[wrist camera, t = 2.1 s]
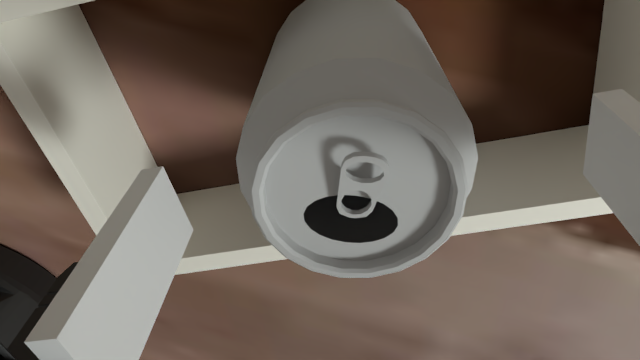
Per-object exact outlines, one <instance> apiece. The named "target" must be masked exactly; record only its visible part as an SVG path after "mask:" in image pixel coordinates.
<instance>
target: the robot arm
mask: <svg viewBox="0 0 640 360" xmlns="http://www.w3.org/2000/svg"><path fill="white" fill-rule="evenodd" d="M583 175H584V176H585V177H586V179H587V180H588V181H589V182H590V184H591V185H592V186H593V188H594V189H595V190H596V191H597V193H598V194H599V195H600V196H601V198H602V199H603V200H604V201H605V203H606V204H607V205H608V207H609V208H610V209H611V210H612V212H613V213H614V214H615V215H616V217H617V218H618V219H619V220H620V222H621V223H622V224H623V226H624V227H625V228H626V229H627V231H628V232H629V233H630V234H631V236H632V237H633V238H634V239H635V241H636V242H637V243H638V245H639V246H640V102H638V101H637V100H636V99H635V98H633V97H632V96H631V95H629V94H628V93H627V92H626V91H624V90H623V89H618V90H612V91H606V92H600V93H594V94H593V96H592V104H591V112H590V120H589V128H588V136H587V144H586V153H585V161H584V169H583ZM192 232H193V228H192V226H191V224H190V221H189V219H188V217H187V215H186V213H185V211H184V209H183V207H182V205H181V203H180V201H179V198H178V196H177V194H176V192H175V190H174V188H173V186H172V184H171V182H170V180H169V178H168V176H167V173H166V171H165V169H164V167H163V166H161V167H155V168H149V169H143V170H141V171H140V173H139V174H138V176H137V177H136V179H135V180H134V182H133V183H132V184H131V186H130V187H129V189H128V190H127V192H126V193H125V195H124V196H123V198H122V199H121V201H120V202H119V204H118V205H117V206H116V208H115V209H114V211H113V212H112V214H111V215H110V217H109V218H108V220H107V221H106V223H105V224H104V226H103V227H102V228H101V230H100V231H99V233H98V234H97V236H96V237H95V239H94V240H93V242H92V243H91V245H90V246H89V248H88V249H87V250H86V252H85V253H84V255H83V256H82V258H81V259H80V261H79V262H75V263H73V264H72V265H71V266H70V267H69V268H67V269H66V270H65V271H64V272H63V273H62V274H61V275H60V276H59V277H58V278H57V279H56V278H55V277H54V276H53V275H51V274H50V273H49V272H47V271H46V270H45V269H43V268H42V267H40V266H39V265H37V264H36V263H34V262H33V261H31V260H29V259H27V258H26V257H24V256H22V255H20V254H18V253H16V252H14V251H12V250H10V249H7V248H5V247H3V246H0V360H139V358H140V356H141V353H142V351H143V348H144V346H145V344H146V341H147V339H148V337H149V334H150V332H151V330H152V327H153V325H154V322H155V320H156V318H157V315H158V313H159V311H160V308H161V306H162V303H163V301H164V299H165V296H166V294H167V292H168V289H169V287H170V285H171V282H172V280H173V277H174V275H175V273H176V270H177V268H178V266H179V263H180V261H181V258H182V256H183V254H184V251H185V249H186V247H187V244H188V242H189V239H190V237H191V235H192Z"/></svg>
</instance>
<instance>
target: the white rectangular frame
mask: <svg viewBox="0 0 640 360" xmlns="http://www.w3.org/2000/svg"><path fill="white" fill-rule="evenodd" d="M90 1H94V0H0V85H1V87H2V88H3V90H4V91H5V93H6V94H7V96H8V98H9V99H10V101H11V102H12V104H13V105H14V107H15V109H16V110H17V112H18V113H19V115H20V116H21V118H22V120H23V121H24V123H25V124H26V126H27V127H28V129H29V131H30V132H31V134H32V135H33V137H34V138H35V140H36V141H37V143H38V145H39V146H40V148H41V149H42V151H43V152H44V154H45V156H46V157H47V159H48V160H49V162H50V163H51V165H52V167H53V168H54V170H55V171H56V173H57V174H58V176H59V178H60V179H61V181H62V182H63V184H64V185H65V187H66V189H67V190H68V192H69V193H70V195H71V196H72V198H73V200H74V201H75V203H76V204H77V206H78V207H79V209H80V210H81V212H82V214H83V215H84V217H85V218H86V220H87V221H88V223H89V225H90V226H91V228H92V229H93V231H94V232H95V234H96V236H97V234H98V233H99V231H100V230H101V228H102V227H103V226H104V224H105V223H106V221H107V220H108V218H109V217H110V215H111V214H112V212H113V211H114V209H115V208H116V206H117V205H118V204H119V202H120V201H121V199H122V198H123V196H124V195H125V193H126V192H127V190H128V189H129V187H130V186H131V184H132V183H133V182H134V180H135V179H136V177H137V176H138V174H139V173H140V171H141V170H143V169H149V168H155V167H157V165H156V162H155V160H154V158H153V156H152V154H151V152H150V150H149V148H148V146H147V144H146V142H145V140H144V138H143V136H142V134H141V132H140V130H139V128H138V126H137V123H136V121H135V119H134V117H133V115H132V113H131V111H130V109H129V107H128V105H127V103H126V101H125V99H124V97H123V95H122V93H121V91H120V89H119V87H118V84H117V82H116V80H115V78H114V76H113V74H112V72H111V70H110V68H109V66H108V64H107V62H106V60H105V58H104V56H103V54H102V52H101V50H100V48H99V46H98V43H97V41H96V39H95V37H94V35H93V33H92V31H91V29H90V27H89V25H88V23H87V21H86V19H85V17H84V15H83V13H82V11H81V9H80V7H79V4H82V3H86V2H90ZM618 89H623V90H624V91H626V92H627V93H628V94H629V95H631V96H632V97H633V98H635V99H636V100H637V101H638V102H640V0H605V1H604V9H603V17H602V26H601V34H600V42H599V50H598V58H597V66H596V74H595V82H594V90H593V94H594V93H600V92H606V91H612V90H618ZM588 128H589V125H585V126H579V127H573V128H567V129H561V130H555V131H549V132H543V133H538V134H532V135H526V136H520V137H514V138H508V139H502V140H496V141H490V142H484V143H478V144H476V148H477V153H478V161H477V166H476V171H475V176H474V181H473V186H472V190H471V192H470V193H469V195H468V197H467V198H466V203H465V209H464V214H463V216H462V218H461V219H460V221H459V223H458V224H457V226H456V228H455V229H454V231H453V232H452V234H451V236H453V235H460V234H468V233H475V232H482V231H489V230H496V229H503V228H510V227H517V226H524V225H531V224H538V223H545V222H552V221H560V220H567V219H574V218H581V217H588V216H595V215H602V214H609V213H613V212H612V210H611V209H610V208H609V207H608V205H607V204H606V203H605V201H604V200H603V199H602V198H601V196H600V195H599V194H598V193H597V191H596V190H595V189H594V188H593V186H592V185H591V184H590V182H589V181H588V180H587V179H586V177H585V176H584V175H583V169H584V161H585V153H586V144H587V136H588ZM177 196H178V198H179V201H180V203H181V205H182V207H183V209H184V211H185V213H186V215H187V217H188V219H189V221H190V224H191V226H192V228H193V232H192V235H191V237H190V239H189V242H188V244H187V247H186V249H185V251H184V254H183V256H182V258H181V261H180V263H179V266H178V268H177V270H176V273H175V275H177V274H184V273H191V272H198V271H206V270H213V269H220V268H227V267H234V266H241V265H248V264H255V263H262V262H269V261H276V260H283V259H287V258H285V257H284V256H283V255H282V254H281V253H280V252H279V251H278V250H277V249H276V248H275V247H274V246H273V245H271V244H270V243H269V242H268V241H267V240H266V239H265V237H264V235H263V234H262V232H261V230H260V228H259V226H258V224H257V223H256V221H255V219H254V217H253V215H252V210H251V208H250V206H249V205H248V203H247V201H246V199H245V197H244V195H243V194H242V192H241V190H240V184H234V185H228V186H222V187H216V188H210V189H204V190H198V191H192V192H186V193H180V194H177Z"/></svg>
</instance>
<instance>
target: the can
mask: <svg viewBox="0 0 640 360" xmlns="http://www.w3.org/2000/svg"><path fill="white" fill-rule="evenodd" d="M477 161H478V153H477V148H476V142H475V137H474V132H473V126H472V123H471V121H470V120H469V118H468V116H467V114H466V112H465V110H464V109H463V107H462V105H461V103H460V101H459V99H458V98H457V96H456V94H455V92H454V90H453V88H452V87H451V85H450V83H449V81H448V79H447V77H446V76H445V74H444V72H443V70H442V68H441V66H440V65H439V63H438V61H437V59H436V57H435V55H434V54H433V52H432V50H431V48H430V46H429V44H428V43H427V41H426V39H425V37H424V35H423V33H422V32H421V30H420V28H419V27H418V25H417V24H416V22H415V20H414V19H413V17H412V16H411V14H410V12H409V11H408V10H407V9H406V8H404V7H403V6H402V5H401V4H399V3H398V2H397V1H396V0H305V1H304V2H303V3H302V4H300V5H299V6H298V7H297V8H296V9H294V10H293V11H292V12H291V13H290V14H289V16H288V17H287V19H286V21H285V22H284V24H283V25H282V27H281V28H280V30H279V32H278V33H277V36H276V38H275V41H274V44H273V47H272V49H271V52H270V55H269V57H268V60H267V63H266V66H265V68H264V71H263V74H262V76H261V79H260V82H259V85H258V87H257V90H256V93H255V96H254V98H253V101H252V104H251V106H250V109H249V112H248V115H247V117H246V120H245V123H244V126H243V129H242V134H241V138H240V143H239V147H238V151H237V156H236V163H237V170H238V177H239V184H240V190H241V192H242V194H243V195H244V197H245V199H246V201H247V203H248V205H249V206H250V208H251V210H252V215H253V217H254V219H255V221H256V223H257V224H258V226H259V228H260V230H261V232H262V234H263V235H264V237H265V239H266V240H267V241H268V242H269V243H270V244H271V245H273V246H274V247H275V248H276V249H277V250H278V251H279V252H280V253H281V254H282V255H283V256H284V257H285V258H287V259H289V260H291V261H293V262H295V263H297V264H299V265H301V266H303V267H305V268H307V269H309V270H311V271H314V272H318V273H322V274H327V275H331V276H335V277H339V278H371V277H376V276H380V275H385V274H389V273H394V272H398V271H401V270H403V269H405V268H407V267H409V266H411V265H413V264H416V263H418V262H420V261H422V260H424V259H426V258H427V257H428V256H430V255H431V254H432V253H433V252H434V251H435V250H436V249H438V248H439V247H440V246H441V245H442V244H443V243H444V242H446V241H447V240H448V239H449V237H450V236H451V234H452V232H453V231H454V229H455V228H456V226H457V224H458V223H459V221H460V219H461V218H462V216H463V214H464V209H465V203H466V198H467V197H468V195H469V193H470V192H471V190H472V186H473V181H474V176H475V171H476V166H477Z"/></svg>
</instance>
